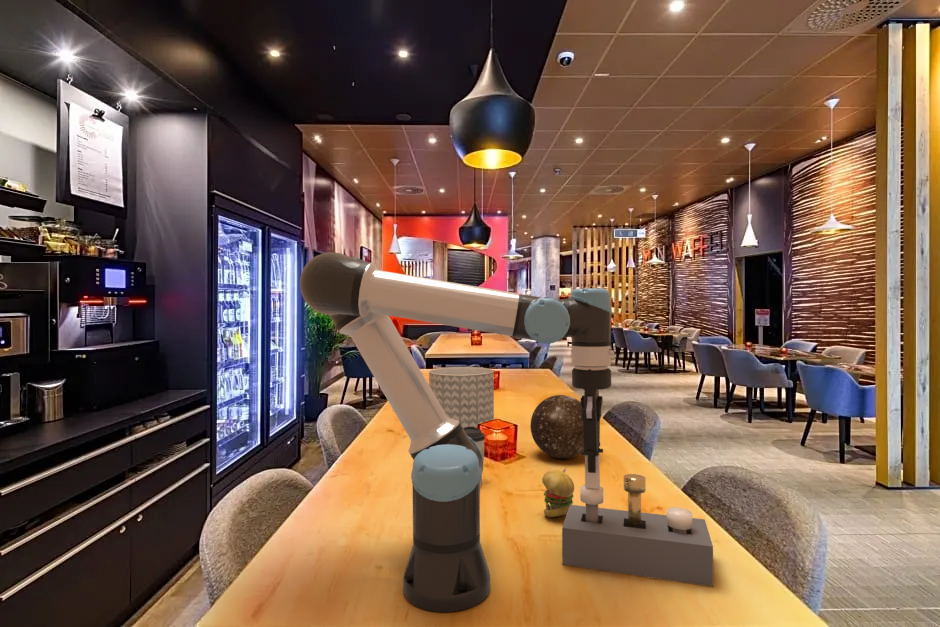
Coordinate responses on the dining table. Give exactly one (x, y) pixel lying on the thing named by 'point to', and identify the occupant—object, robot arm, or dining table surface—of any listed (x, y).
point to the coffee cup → (476, 438)
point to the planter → (464, 393)
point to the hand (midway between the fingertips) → (592, 487)
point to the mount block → (637, 546)
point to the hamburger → (557, 492)
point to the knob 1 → (591, 502)
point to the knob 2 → (679, 519)
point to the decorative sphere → (558, 426)
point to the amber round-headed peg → (634, 498)
